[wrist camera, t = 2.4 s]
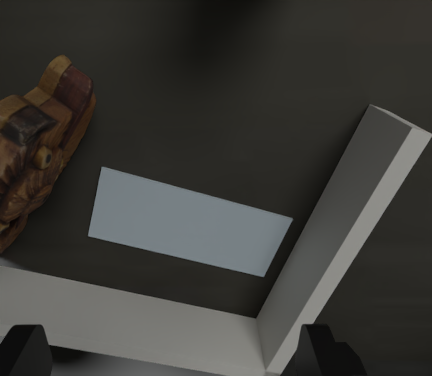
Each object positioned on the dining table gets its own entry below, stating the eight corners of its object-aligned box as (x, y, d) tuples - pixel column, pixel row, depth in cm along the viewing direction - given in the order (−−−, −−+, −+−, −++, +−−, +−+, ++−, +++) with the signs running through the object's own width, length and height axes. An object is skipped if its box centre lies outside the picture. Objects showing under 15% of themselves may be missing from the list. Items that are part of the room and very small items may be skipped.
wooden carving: (44, 233, 31) (-19, 324, 22) (-8, 211, 29) (-98, 297, 21) (124, 69, 25) (81, 102, 16) (62, 32, 23) (-22, 45, 14)
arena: (-33, 270, 32) (-79, 322, 27) (-29, -37, 21) (-105, -52, 16) (263, 330, 37) (274, 383, 32) (386, 110, 27) (432, 134, 21)
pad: (88, 234, 31) (87, 236, 31) (102, 166, 28) (101, 167, 28) (263, 275, 34) (263, 277, 34) (292, 218, 31) (292, 219, 31)
